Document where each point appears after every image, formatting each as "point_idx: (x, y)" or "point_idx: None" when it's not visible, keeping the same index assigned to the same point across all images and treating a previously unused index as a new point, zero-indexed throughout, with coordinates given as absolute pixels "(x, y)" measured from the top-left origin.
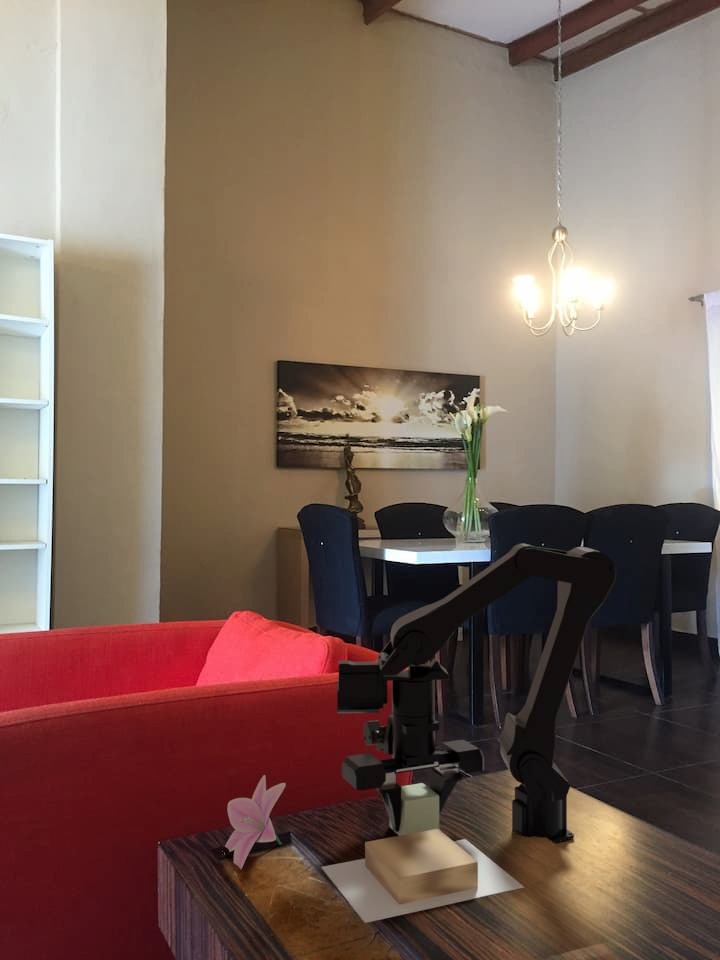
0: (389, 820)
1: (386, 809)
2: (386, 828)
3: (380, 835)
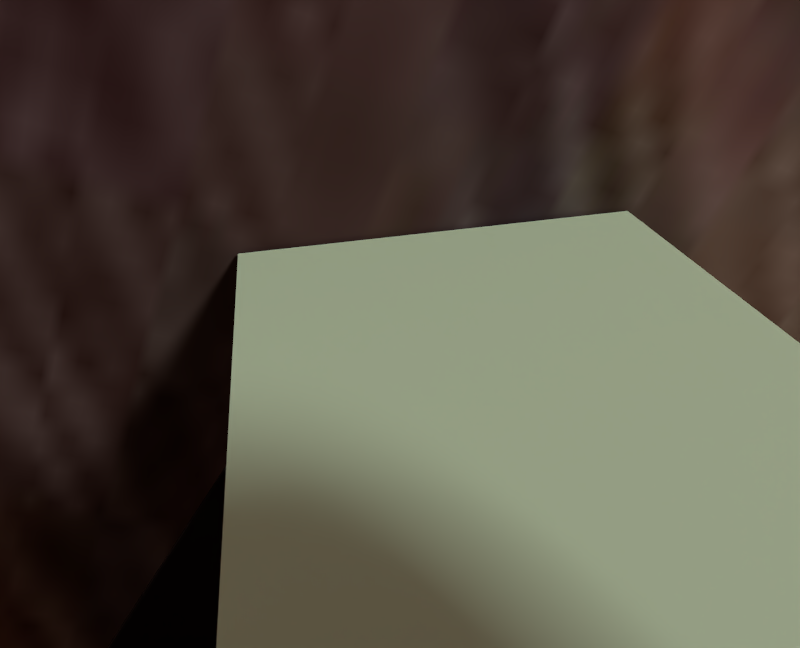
0: (234, 319)
1: (119, 631)
2: (233, 134)
3: (117, 289)
